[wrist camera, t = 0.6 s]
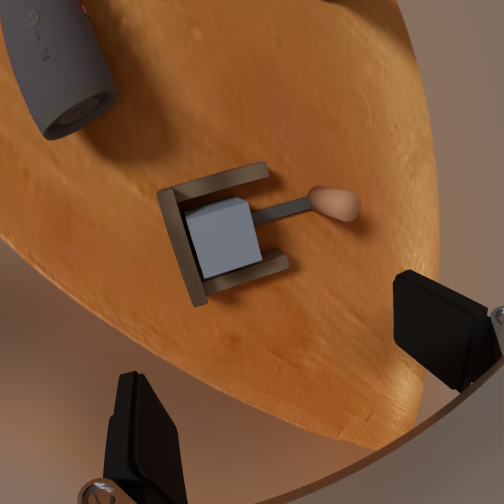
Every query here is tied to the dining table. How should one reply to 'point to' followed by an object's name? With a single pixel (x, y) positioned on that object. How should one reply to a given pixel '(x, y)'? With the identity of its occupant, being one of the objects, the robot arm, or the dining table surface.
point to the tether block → (242, 226)
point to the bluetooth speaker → (57, 63)
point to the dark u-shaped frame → (178, 236)
